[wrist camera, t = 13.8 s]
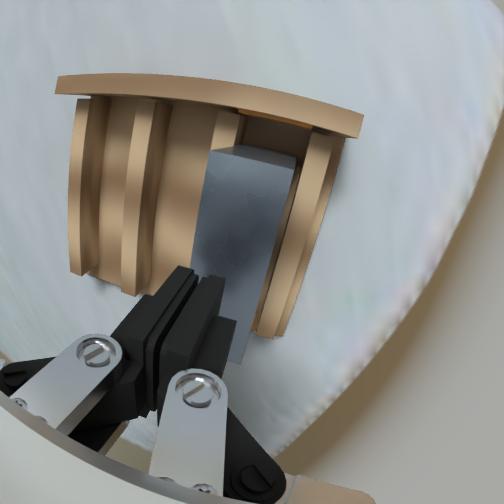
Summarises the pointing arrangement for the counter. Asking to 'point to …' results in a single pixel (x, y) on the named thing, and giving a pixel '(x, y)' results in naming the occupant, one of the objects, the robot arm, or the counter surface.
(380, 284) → the counter surface
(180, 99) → the rack
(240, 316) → the block
